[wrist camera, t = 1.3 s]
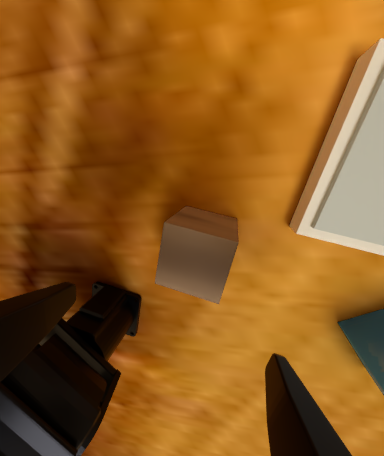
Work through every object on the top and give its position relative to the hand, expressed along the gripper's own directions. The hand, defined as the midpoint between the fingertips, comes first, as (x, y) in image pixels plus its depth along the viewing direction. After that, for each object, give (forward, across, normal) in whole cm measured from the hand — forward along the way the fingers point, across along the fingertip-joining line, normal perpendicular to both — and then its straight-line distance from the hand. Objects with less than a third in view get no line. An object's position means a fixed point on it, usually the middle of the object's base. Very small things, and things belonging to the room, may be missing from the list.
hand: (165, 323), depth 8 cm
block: (+11, 0, 0) cm, 11 cm away
